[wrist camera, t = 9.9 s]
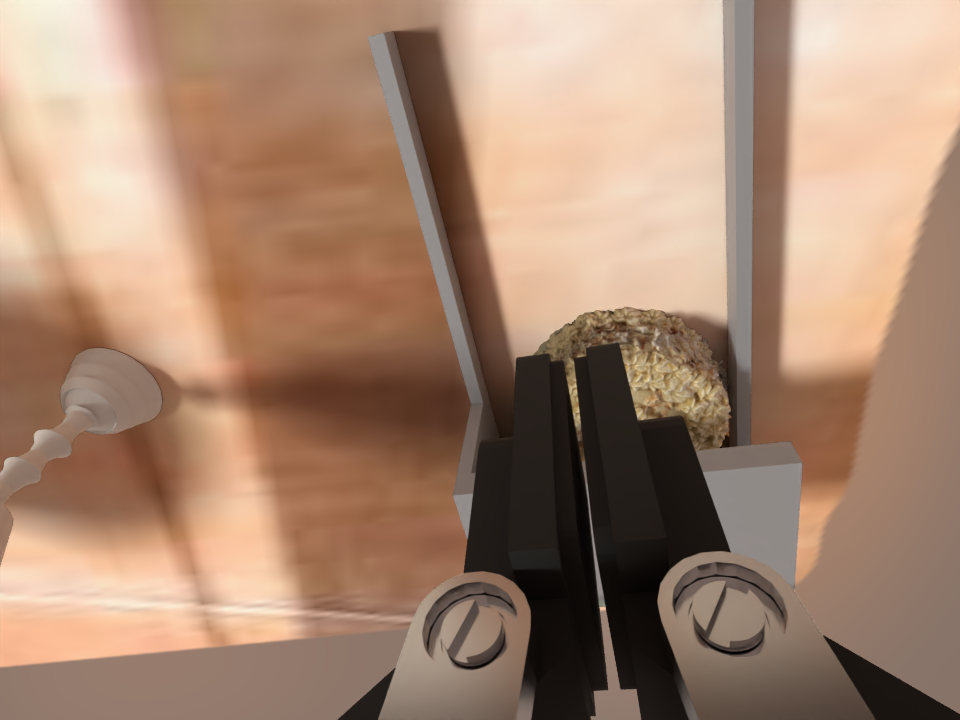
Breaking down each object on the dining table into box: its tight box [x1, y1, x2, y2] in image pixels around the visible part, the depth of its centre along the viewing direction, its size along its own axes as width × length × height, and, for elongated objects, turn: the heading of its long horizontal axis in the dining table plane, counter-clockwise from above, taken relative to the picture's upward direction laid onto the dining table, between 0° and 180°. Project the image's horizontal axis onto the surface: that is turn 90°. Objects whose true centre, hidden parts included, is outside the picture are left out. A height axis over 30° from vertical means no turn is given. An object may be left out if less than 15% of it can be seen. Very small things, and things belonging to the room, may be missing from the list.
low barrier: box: [368, 0, 803, 607], centre depth 23 cm, size 23×13×8 cm, turn 13°
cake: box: [534, 307, 732, 462], centre depth 27 cm, size 10×10×5 cm
